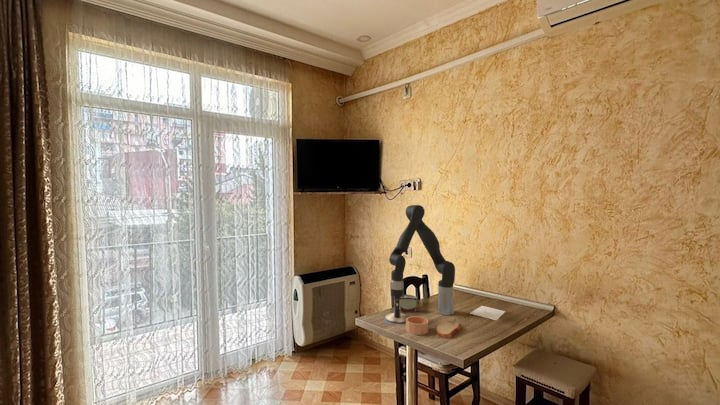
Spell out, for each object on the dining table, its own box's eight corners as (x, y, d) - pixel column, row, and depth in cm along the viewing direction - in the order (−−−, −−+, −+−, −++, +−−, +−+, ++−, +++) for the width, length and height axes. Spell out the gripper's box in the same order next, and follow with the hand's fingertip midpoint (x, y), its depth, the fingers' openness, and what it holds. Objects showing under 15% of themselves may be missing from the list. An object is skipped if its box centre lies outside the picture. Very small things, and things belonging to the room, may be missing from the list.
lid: (408, 314, 202) (408, 306, 202) (409, 323, 188) (409, 314, 188) (385, 313, 203) (385, 305, 203) (385, 322, 189) (385, 313, 189)
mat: (409, 316, 202) (409, 315, 202) (410, 325, 187) (410, 324, 187) (384, 315, 204) (384, 314, 204) (383, 324, 189) (383, 323, 189)
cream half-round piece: (416, 309, 214) (417, 294, 214) (417, 313, 208) (417, 297, 208) (398, 309, 215) (398, 294, 215) (398, 312, 209) (398, 296, 209)
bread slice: (442, 340, 169) (442, 332, 169) (427, 326, 187) (427, 320, 187) (473, 336, 173) (473, 329, 173) (455, 324, 191) (455, 317, 191)
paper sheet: (483, 305, 224) (483, 304, 224) (528, 318, 203) (528, 316, 203) (466, 313, 208) (466, 312, 208) (513, 328, 187) (513, 326, 187)
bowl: (427, 327, 185) (427, 316, 185) (429, 336, 173) (429, 324, 173) (405, 326, 186) (405, 315, 186) (406, 334, 174) (406, 323, 174)
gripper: (403, 291, 188) (403, 320, 188) (403, 284, 202) (403, 312, 202) (390, 290, 189) (390, 320, 189) (391, 284, 203) (391, 312, 203)
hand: (397, 316), depth 196 cm, fingers closed on lid, 3 cm apart
